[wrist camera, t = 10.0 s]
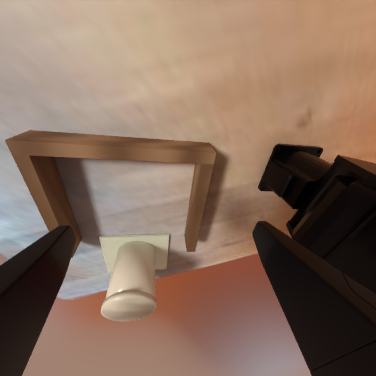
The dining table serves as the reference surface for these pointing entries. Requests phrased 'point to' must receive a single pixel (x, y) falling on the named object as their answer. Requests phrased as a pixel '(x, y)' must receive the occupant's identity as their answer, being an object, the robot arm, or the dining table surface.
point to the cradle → (104, 149)
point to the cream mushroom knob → (131, 283)
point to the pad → (114, 242)
